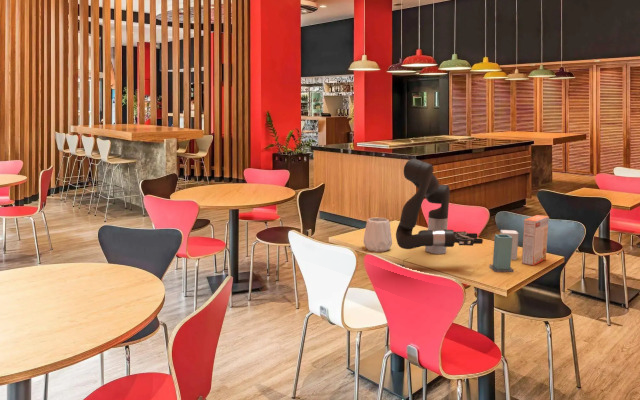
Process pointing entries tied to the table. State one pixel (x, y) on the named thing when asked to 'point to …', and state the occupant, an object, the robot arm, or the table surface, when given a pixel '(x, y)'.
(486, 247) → the table surface
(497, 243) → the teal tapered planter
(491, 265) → the plate
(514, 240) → the supplement box
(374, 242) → the vase
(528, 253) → the cracker box
